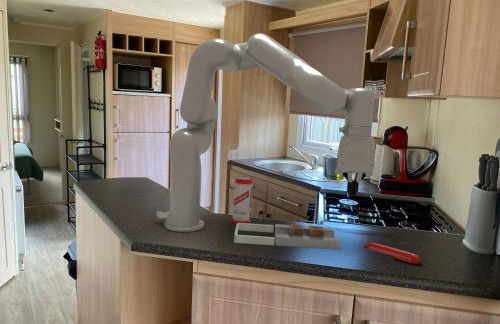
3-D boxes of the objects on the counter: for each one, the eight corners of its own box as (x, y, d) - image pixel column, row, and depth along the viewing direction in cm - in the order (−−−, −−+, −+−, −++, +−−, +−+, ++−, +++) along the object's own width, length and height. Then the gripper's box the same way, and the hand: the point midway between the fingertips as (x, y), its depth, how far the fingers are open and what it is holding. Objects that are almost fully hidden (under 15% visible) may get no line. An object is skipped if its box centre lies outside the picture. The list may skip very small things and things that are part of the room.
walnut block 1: (289, 241, 116) (290, 228, 115) (288, 236, 120) (289, 224, 119) (302, 242, 116) (303, 229, 115) (301, 237, 120) (302, 225, 119)
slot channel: (275, 248, 112) (276, 236, 112) (274, 234, 124) (275, 224, 123) (339, 253, 112) (340, 241, 111) (332, 238, 123) (333, 228, 123)
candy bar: (422, 264, 108) (424, 254, 107) (418, 268, 105) (420, 257, 105) (366, 248, 118) (367, 238, 117) (361, 251, 115) (362, 241, 114)
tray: (233, 245, 112) (234, 235, 112) (236, 232, 124) (237, 222, 124) (273, 248, 112) (274, 238, 112) (272, 234, 124) (273, 225, 124)
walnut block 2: (309, 242, 116) (310, 229, 115) (308, 238, 120) (309, 225, 119) (323, 243, 116) (324, 230, 115) (321, 239, 119) (322, 226, 119)
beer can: (248, 228, 129) (251, 180, 127) (229, 226, 130) (232, 178, 128) (252, 222, 135) (255, 177, 133) (234, 220, 136) (236, 175, 134)
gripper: (333, 131, 109) (328, 196, 112) (388, 134, 109) (381, 199, 111) (329, 130, 116) (324, 190, 119) (380, 132, 116) (374, 193, 119)
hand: (352, 194), depth 115 cm, fingers closed
